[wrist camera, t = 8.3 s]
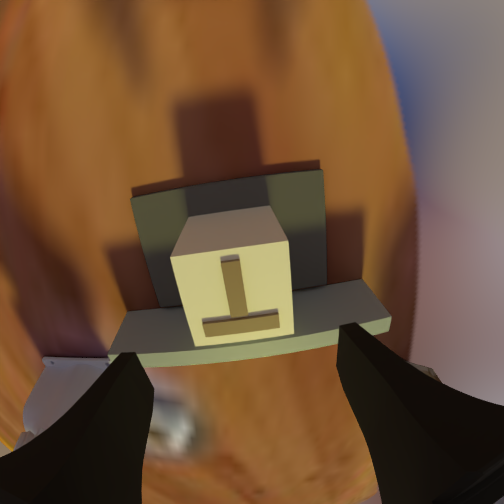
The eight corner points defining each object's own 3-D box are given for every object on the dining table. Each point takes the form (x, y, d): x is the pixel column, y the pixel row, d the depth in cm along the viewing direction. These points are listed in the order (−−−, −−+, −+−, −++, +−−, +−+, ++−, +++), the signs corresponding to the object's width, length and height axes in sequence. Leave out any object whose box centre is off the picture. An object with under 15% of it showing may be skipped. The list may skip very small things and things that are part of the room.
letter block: (203, 287, 19) (195, 349, 14) (188, 217, 17) (169, 259, 12) (276, 277, 19) (294, 336, 14) (269, 205, 17) (289, 242, 12)
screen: (132, 323, 21) (114, 367, 16) (127, 311, 20) (107, 354, 16) (361, 292, 21) (388, 331, 17) (361, 278, 21) (391, 316, 16)
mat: (161, 303, 20) (160, 307, 20) (132, 196, 17) (130, 198, 17) (324, 280, 20) (326, 284, 20) (320, 169, 17) (322, 170, 17)
